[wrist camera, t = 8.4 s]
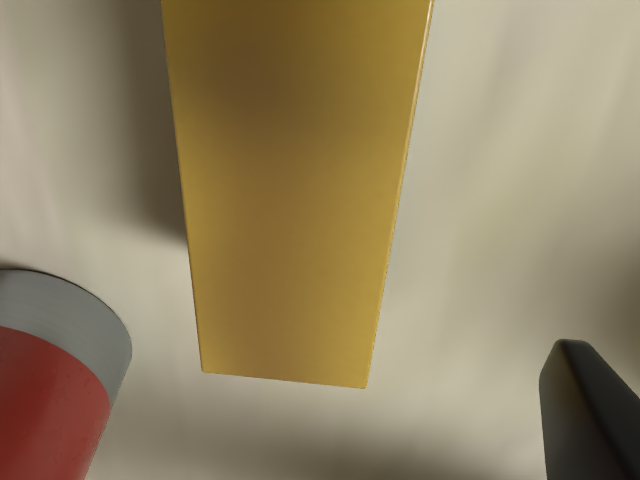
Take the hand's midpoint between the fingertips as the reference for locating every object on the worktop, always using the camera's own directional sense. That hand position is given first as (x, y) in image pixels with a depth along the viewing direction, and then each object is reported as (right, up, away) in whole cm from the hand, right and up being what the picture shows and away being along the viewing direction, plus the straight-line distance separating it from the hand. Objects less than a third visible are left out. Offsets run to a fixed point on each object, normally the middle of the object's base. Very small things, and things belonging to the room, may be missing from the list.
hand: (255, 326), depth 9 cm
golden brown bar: (+1, +5, +6) cm, 8 cm away
